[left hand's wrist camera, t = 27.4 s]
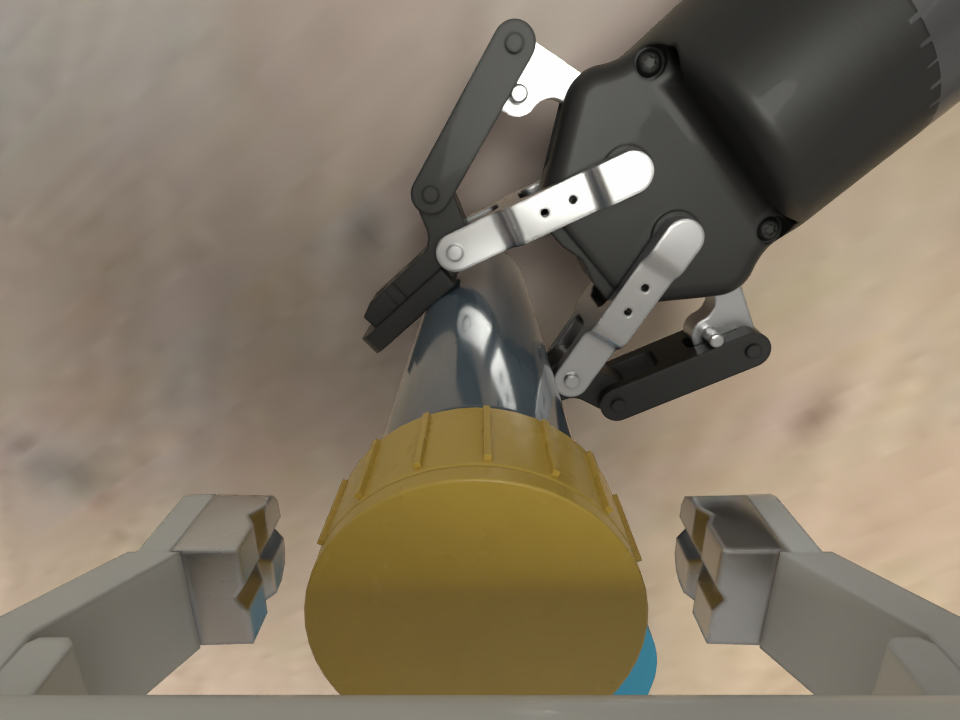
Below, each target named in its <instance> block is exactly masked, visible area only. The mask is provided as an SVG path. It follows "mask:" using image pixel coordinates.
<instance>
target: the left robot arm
mask: <svg viewBox="0 0 960 720" xmlns="http://www.w3.org/2000/svg"><path fill="white" fill-rule="evenodd" d="M279 519H280V511H279V505H278V500H277V499H276V498H275V497H274V496H269V495H220V494H219V495H215V494H190V495H187V496H184V497H183V498H182V499H181V500H180V501H179V503H178V504H177V505H176V506H175V507H174V509H173V510H172V511H171V512H170V513H169V515H168V516H167V517H166V518H165V519H164V520H163V522H162V523H161V524H160V525H159V526H158V528H157V529H156V530H155V531H154V532H153V534H152V535H151V536H150V537H149V538H148V540H147V541H146V542H145V543H144V544H143V546H142V547H141V548H140V549H139V550H138V552H127V553H125V554H123V555H121V556H119V557H117V558H115V559H113V560H111V561H109V562H107V563H105V564H103V565H101V566H99V567H97V568H95V569H93V570H91V571H89V572H87V573H85V574H83V575H81V576H79V577H77V578H76V579H74V580H72V581H70V582H68V583H66V584H64V585H62V586H60V587H58V588H56V589H54V590H52V591H50V592H48V593H46V594H44V595H42V596H40V597H38V598H36V599H34V600H32V601H30V602H28V603H26V604H24V605H22V606H20V607H18V608H16V609H14V610H12V611H10V612H8V613H6V614H4V615H2V616H0V720H960V617H959V616H957V615H955V614H953V613H951V612H949V611H947V610H945V609H943V608H941V607H939V606H937V605H936V604H934V603H932V602H930V601H928V600H926V599H924V598H922V597H920V596H918V595H916V594H914V593H912V592H910V591H908V590H906V589H904V588H902V587H900V586H898V585H896V584H894V583H892V582H890V581H888V580H886V579H884V578H882V577H880V576H878V575H876V574H874V573H873V572H871V571H869V570H867V569H865V568H863V567H861V566H859V565H857V564H855V563H853V562H851V561H849V560H847V559H845V558H843V557H841V556H839V555H837V554H835V553H833V552H822V550H821V549H820V548H819V547H818V546H817V545H816V543H815V542H814V541H813V540H812V539H811V537H810V536H809V535H808V534H807V533H806V531H805V530H804V529H803V528H802V527H801V525H800V524H799V523H798V522H797V521H796V519H795V518H794V517H793V516H792V515H791V513H790V512H789V511H788V510H787V509H786V507H785V506H784V505H783V504H782V503H781V501H780V500H779V499H778V498H777V497H776V496H774V495H771V494H753V495H731V496H685V497H684V499H683V502H682V504H681V510H680V519H681V520H682V522H683V524H684V526H685V530H684V531H683V532H682V533H681V534H680V535H679V536H678V537H677V538H676V547H675V563H676V572H677V576H678V579H679V583H680V585H681V587H682V590H683V592H684V593H685V594H686V595H688V596H689V597H690V598H692V599H693V600H694V606H693V614H694V617H695V619H696V621H697V623H698V625H699V627H700V630H701V632H702V634H703V636H704V638H705V641H706V643H707V644H741V645H760V648H761V649H762V650H763V651H764V652H765V653H767V654H768V655H769V656H770V657H771V658H772V659H773V660H775V661H776V662H777V663H778V664H779V665H780V666H782V667H783V668H784V669H785V670H786V671H787V672H789V673H790V674H791V675H792V676H793V677H794V678H795V679H797V680H798V681H799V682H800V683H801V684H802V685H804V686H805V687H806V688H807V689H808V690H809V691H811V692H812V693H813V694H814V695H146V694H147V693H148V692H150V691H151V690H152V689H153V688H154V687H155V686H157V685H158V684H159V683H160V682H161V681H162V680H164V679H165V678H166V677H167V676H168V675H169V674H171V673H172V672H173V671H174V670H175V669H176V668H178V667H179V666H180V665H181V664H182V663H183V662H184V661H186V660H187V659H188V658H189V657H190V656H191V655H193V654H194V653H195V652H196V651H197V650H198V649H200V645H219V644H253V643H254V641H255V639H256V636H257V634H258V632H259V630H260V628H261V625H262V623H263V621H264V619H265V617H266V614H267V606H266V600H267V599H268V598H270V597H271V596H272V595H274V594H275V593H276V592H277V590H278V587H279V585H280V582H281V580H282V575H283V570H284V565H285V546H284V538H283V537H282V536H281V535H280V534H279V533H278V532H277V531H276V530H275V529H274V528H275V526H276V524H277V522H278V520H279Z"/></svg>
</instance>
